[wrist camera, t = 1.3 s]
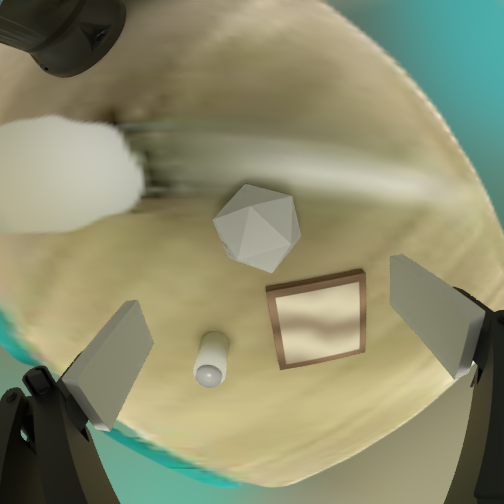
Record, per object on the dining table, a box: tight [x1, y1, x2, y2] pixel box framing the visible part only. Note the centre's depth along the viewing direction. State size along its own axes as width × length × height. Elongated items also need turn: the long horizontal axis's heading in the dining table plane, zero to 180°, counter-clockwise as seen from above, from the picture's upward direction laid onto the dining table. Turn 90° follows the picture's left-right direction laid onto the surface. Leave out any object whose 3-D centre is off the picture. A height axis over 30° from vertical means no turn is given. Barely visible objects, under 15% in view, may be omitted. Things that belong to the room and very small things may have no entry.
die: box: [212, 184, 301, 273], centre depth 30 cm, size 8×9×10 cm
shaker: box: [193, 332, 229, 388], centre depth 35 cm, size 4×4×8 cm
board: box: [266, 269, 366, 370], centre depth 37 cm, size 13×13×2 cm
